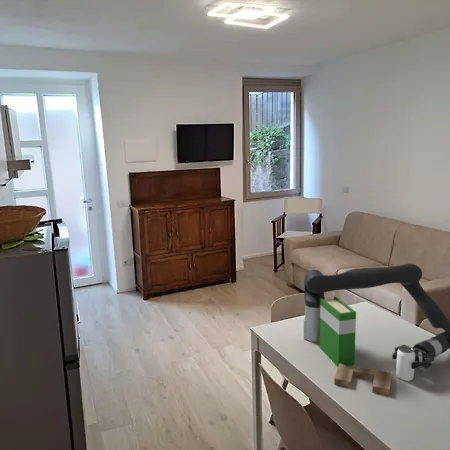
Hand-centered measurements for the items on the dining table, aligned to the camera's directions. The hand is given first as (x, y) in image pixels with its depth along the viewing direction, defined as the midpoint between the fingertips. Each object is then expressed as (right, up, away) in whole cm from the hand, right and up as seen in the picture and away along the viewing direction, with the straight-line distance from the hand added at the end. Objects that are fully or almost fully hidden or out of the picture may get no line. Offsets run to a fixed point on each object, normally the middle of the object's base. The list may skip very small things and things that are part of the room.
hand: (402, 361), depth 159 cm
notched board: (-15, -8, 0) cm, 17 cm away
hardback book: (-21, -4, +20) cm, 29 cm away
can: (+2, -7, +2) cm, 8 cm away
